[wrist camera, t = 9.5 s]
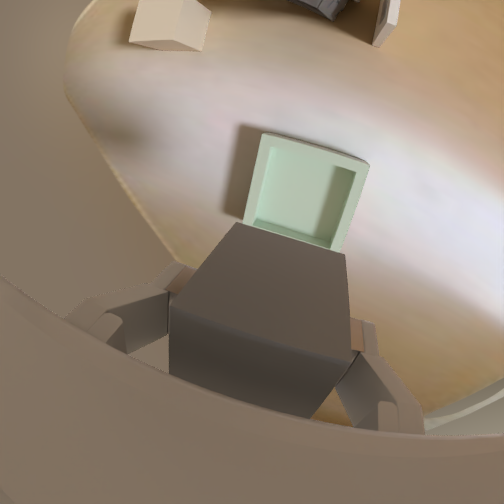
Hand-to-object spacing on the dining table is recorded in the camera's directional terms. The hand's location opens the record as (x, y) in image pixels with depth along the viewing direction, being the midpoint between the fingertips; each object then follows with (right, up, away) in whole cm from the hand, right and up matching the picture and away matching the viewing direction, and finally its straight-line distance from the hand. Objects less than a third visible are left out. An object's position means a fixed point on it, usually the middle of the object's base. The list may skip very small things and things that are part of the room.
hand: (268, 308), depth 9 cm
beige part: (-6, +21, +9) cm, 23 cm away
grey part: (0, +1, +1) cm, 2 cm away
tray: (+4, +7, +13) cm, 15 cm away
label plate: (+9, +20, +5) cm, 23 cm away
